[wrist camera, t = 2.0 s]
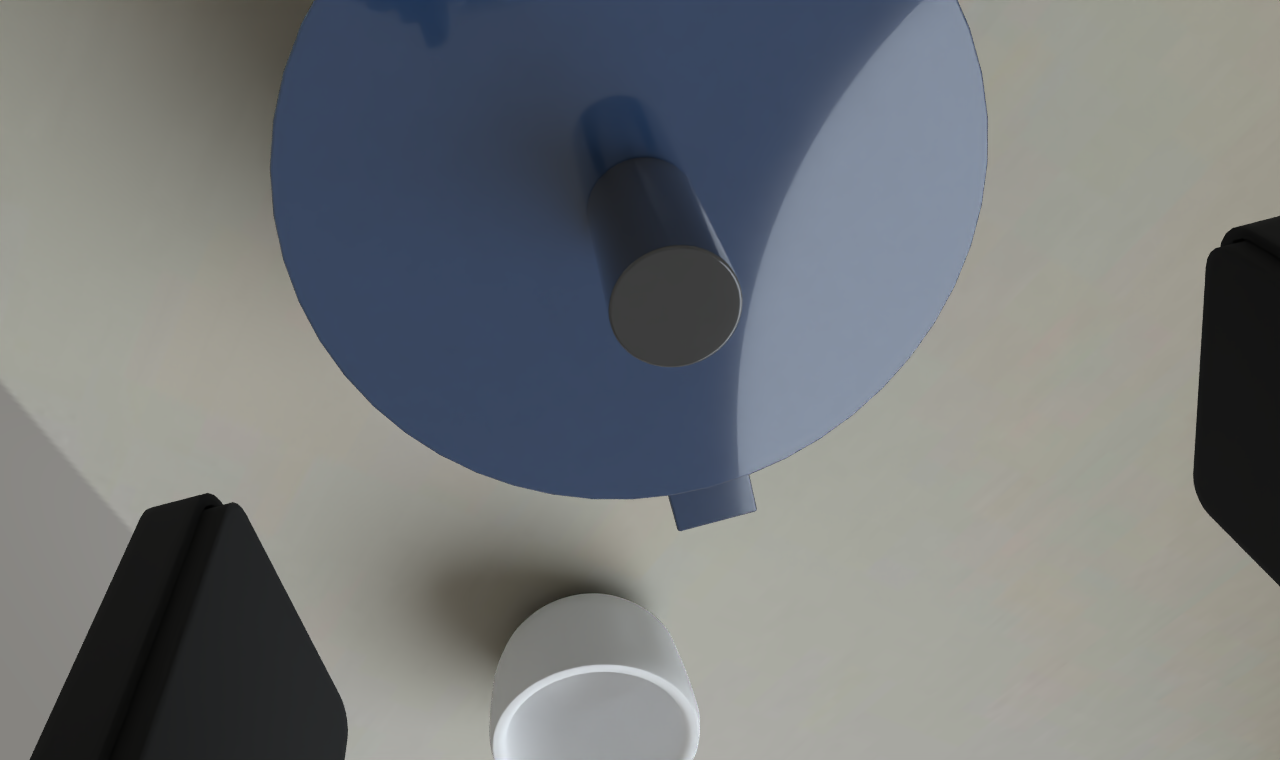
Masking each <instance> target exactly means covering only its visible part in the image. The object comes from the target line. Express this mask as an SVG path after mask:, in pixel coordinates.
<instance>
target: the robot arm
mask: <svg viewBox="0 0 1280 760" xmlns="http://www.w3.org/2000/svg"><path fill="white" fill-rule="evenodd" d="M1193 478H1194V486H1195V490H1196V493H1197V496H1198V498H1199V501H1200V502H1201V504H1202V506H1203V508H1204V509H1205V510H1206V512H1207V513H1208V514H1209V515H1210V516H1211V517H1212V518H1213V519H1214V520H1215V521H1216V522H1217V523H1218V524H1219V525H1220V526H1221V527H1222V528H1223V529H1224V530H1225V531H1226V532H1227V533H1228V534H1229V535H1230V536H1231V537H1232V538H1233V539H1234V540H1235V541H1236V542H1237V543H1238V545H1239V546H1240V547H1241V548H1242V549H1243V550H1244V551H1245V552H1246V553H1247V554H1248V555H1249V556H1250V557H1251V558H1252V559H1253V560H1254V561H1255V562H1256V563H1257V564H1258V565H1259V566H1260V567H1261V568H1262V569H1263V570H1264V571H1265V572H1266V573H1267V574H1268V575H1269V576H1270V577H1271V578H1272V579H1273V580H1274V581H1275V582H1276V583H1277V584H1278V585H1279V586H1280V216H1278V217H1274V218H1270V219H1266V220H1262V221H1258V222H1254V223H1251V224H1247V225H1243V226H1239V227H1235V228H1232V229H1231V230H1230V231H1228V232H1227V233H1226V234H1225V236H1224V238H1223V240H1222V242H1221V247H1219V248H1215V249H1214V250H1213V251H1212V252H1211V253H1210V255H1209V257H1208V259H1207V264H1206V273H1205V290H1204V306H1203V323H1202V339H1201V356H1200V372H1199V389H1198V405H1197V422H1196V438H1195V455H1194V471H1193ZM347 736H348V726H347V717H346V712H345V708H344V705H343V702H342V699H341V697H340V695H339V693H338V691H337V689H336V687H335V685H334V683H333V681H332V679H331V677H330V676H329V674H328V672H327V670H326V668H325V666H324V664H323V662H322V660H321V658H320V656H319V654H318V652H317V650H316V648H315V647H314V645H313V643H312V641H311V639H310V637H309V635H308V633H307V631H306V629H305V627H304V625H303V623H302V621H301V619H300V618H299V616H298V614H297V612H296V610H295V608H294V606H293V604H292V602H291V600H290V598H289V596H288V594H287V592H286V590H285V589H284V587H283V585H282V583H281V581H280V579H279V577H278V575H277V573H276V571H275V569H274V567H273V565H272V563H271V562H270V560H269V558H268V556H267V554H266V552H265V550H264V548H263V546H262V544H261V542H260V540H259V538H258V536H257V534H256V533H255V531H254V529H253V527H252V525H251V523H250V521H249V519H248V517H247V515H246V514H245V512H244V510H243V509H242V508H241V507H240V506H239V505H238V504H236V503H233V502H232V503H229V504H225V505H223V504H222V503H221V501H220V500H219V499H218V498H217V497H216V496H214V495H212V494H209V493H206V494H202V495H198V496H194V497H191V498H187V499H183V500H179V501H175V502H171V503H167V504H163V505H160V506H156V507H152V508H149V509H147V510H145V512H144V513H143V515H142V516H141V518H140V520H139V522H138V524H137V526H136V529H135V531H134V533H133V535H132V537H131V540H130V542H129V544H128V546H127V548H126V551H125V553H124V555H123V557H122V559H121V561H120V564H119V566H118V568H117V570H116V572H115V575H114V577H113V579H112V581H111V583H110V585H109V588H108V590H107V592H106V594H105V597H104V599H103V601H102V603H101V605H100V607H99V610H98V612H97V614H96V616H95V618H94V621H93V623H92V625H91V627H90V629H89V631H88V634H87V636H86V638H85V640H84V642H83V644H82V647H81V649H80V651H79V653H78V655H77V658H76V660H75V662H74V664H73V666H72V669H71V671H70V673H69V675H68V677H67V679H66V682H65V684H64V686H63V688H62V690H61V692H60V695H59V697H58V699H57V701H56V703H55V706H54V708H53V710H52V712H51V714H50V716H49V719H48V721H47V723H46V725H45V727H44V730H43V732H42V734H41V736H40V738H39V740H38V743H37V745H36V747H35V750H34V751H33V754H32V756H31V758H30V760H344V759H345V752H346V745H347Z"/></svg>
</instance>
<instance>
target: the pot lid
mask: <svg viewBox="0 0 1280 760" xmlns="http://www.w3.org/2000/svg"><path fill="white" fill-rule="evenodd" d="M987 150H988V116H987V108H986V101H985V93H984V85H983V78H982V71H981V67H980V64H979V60H978V57H977V53H976V49H975V46H974V42H973V38H972V35H971V31H970V28H969V25H968V23H967V21H966V18H965V16H964V14H963V12H962V9H961V7H960V5H959V2H958V0H314V1H313V3H312V5H311V6H310V8H309V10H308V12H307V14H306V16H305V17H304V19H303V21H302V23H301V25H300V28H299V31H298V33H297V36H296V39H295V42H294V44H293V47H292V50H291V52H290V55H289V58H288V60H287V63H286V66H285V68H284V71H283V76H282V80H281V85H280V90H279V94H278V99H277V104H276V109H275V113H274V118H273V128H272V143H271V158H270V177H271V190H272V203H273V216H274V220H275V225H276V229H277V234H278V238H279V243H280V247H281V252H282V256H283V261H284V263H285V266H286V269H287V271H288V274H289V277H290V279H291V282H292V285H293V288H294V290H295V293H296V296H297V298H298V301H299V303H300V305H301V307H302V309H303V311H304V312H305V314H306V316H307V318H308V320H309V322H310V324H311V326H312V327H313V329H314V331H315V333H316V335H317V337H318V339H319V340H320V342H321V343H322V345H323V346H324V347H325V349H326V350H327V352H328V353H329V354H330V356H331V357H332V359H333V360H334V361H335V363H336V364H337V365H338V367H339V368H340V370H341V371H342V372H343V374H344V375H345V376H346V377H347V378H348V380H349V381H350V382H351V383H352V384H353V385H354V386H355V387H356V388H357V389H358V390H359V391H360V392H361V393H362V394H363V396H364V397H365V398H366V399H367V400H368V401H369V402H370V403H371V404H372V405H373V406H374V407H375V408H376V409H377V410H379V411H380V412H381V413H382V414H383V415H385V416H386V417H387V418H388V419H389V420H391V421H392V422H393V423H394V424H396V425H397V426H398V427H399V428H400V429H402V430H403V431H404V432H405V433H407V434H408V435H410V436H411V437H413V438H414V439H416V440H418V441H419V442H421V443H422V444H424V445H425V446H427V447H428V448H430V449H432V450H433V451H435V452H436V453H438V454H439V455H441V456H443V457H445V458H448V459H450V460H452V461H454V462H456V463H458V464H460V465H462V466H464V467H466V468H468V469H470V470H472V471H474V472H476V473H479V474H482V475H485V476H488V477H491V478H494V479H496V480H499V481H502V482H505V483H508V484H511V485H514V486H518V487H522V488H527V489H531V490H535V491H540V492H544V493H549V494H553V495H562V496H571V497H579V498H588V499H639V498H649V497H659V496H669V495H675V494H680V493H685V492H689V491H694V490H699V489H704V488H708V487H712V486H715V485H719V484H722V483H725V482H728V481H731V480H734V479H737V478H740V477H743V476H746V475H749V474H752V473H754V472H756V471H758V470H761V469H763V468H765V467H767V466H770V465H772V464H774V463H776V462H779V461H781V460H783V459H785V458H787V457H789V456H791V455H792V454H794V453H796V452H798V451H799V450H801V449H803V448H805V447H806V446H808V445H810V444H812V443H813V442H815V441H817V440H819V439H820V438H822V437H823V436H824V435H826V434H827V433H829V432H830V431H831V430H833V429H834V428H835V427H837V426H838V425H840V424H841V423H842V422H844V421H845V420H847V419H848V418H849V417H851V416H852V415H853V414H854V413H856V412H857V411H858V410H859V409H860V408H861V407H862V406H863V405H864V404H866V403H867V402H868V401H869V400H870V399H871V398H872V397H873V396H874V395H875V394H877V393H878V392H879V391H880V390H881V389H882V388H883V387H884V386H885V385H886V384H887V383H888V382H889V380H890V379H891V378H892V377H893V376H894V375H895V374H896V373H897V371H898V370H899V369H900V368H901V367H902V366H903V365H904V364H905V362H906V361H907V360H908V359H909V358H910V357H911V355H912V354H913V353H914V351H915V350H916V348H917V347H918V346H919V344H920V343H921V341H922V340H923V338H924V337H925V336H926V334H927V333H928V331H929V330H930V329H931V327H932V326H933V324H934V323H935V321H936V319H937V317H938V316H939V314H940V312H941V310H942V308H943V306H944V305H945V303H946V301H947V299H948V297H949V296H950V294H951V292H952V290H953V288H954V286H955V284H956V281H957V279H958V277H959V274H960V272H961V269H962V267H963V264H964V262H965V259H966V257H967V254H968V252H969V249H970V247H971V243H972V239H973V235H974V232H975V228H976V224H977V221H978V217H979V213H980V209H981V206H982V198H983V191H984V184H985V176H986V169H987Z"/></svg>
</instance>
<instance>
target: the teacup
mask: <svg viewBox="0 0 1280 760" xmlns="http://www.w3.org/2000/svg"><path fill="white" fill-rule="evenodd" d="M699 734H700V715H699V709H698V705H697V702H696V699H695V695H694V692H693V689H692V686H691V683H690V680H689V677H688V675H687V672H686V669H685V666H684V664H683V662H682V659H681V657H680V655H679V653H678V650H677V648H676V646H675V643H674V641H673V639H672V637H671V635H670V633H669V631H668V630H667V628H666V627H665V626H664V625H663V623H662V622H661V621H660V620H659V619H658V618H656V617H655V616H654V615H653V614H652V613H650V612H649V611H648V610H646V609H645V608H643V607H641V606H640V605H638V604H636V603H634V602H632V601H629V600H627V599H624V598H621V597H617V596H613V595H608V594H598V593H589V594H578V595H573V596H568V597H565V598H562V599H559V600H556V601H554V602H551V603H549V604H547V605H545V606H544V607H542V608H540V609H539V610H537V611H536V612H534V613H533V614H532V615H531V616H529V617H528V618H527V619H526V620H525V621H524V622H523V623H522V624H521V625H520V626H519V627H518V628H517V629H516V631H515V632H514V633H513V635H512V636H511V638H510V639H509V641H508V643H507V645H506V647H505V649H504V651H503V653H502V655H501V658H500V660H499V663H498V666H497V669H496V673H495V677H494V683H493V691H492V700H491V710H490V726H489V736H490V746H491V751H492V755H493V758H494V760H693V758H694V756H695V753H696V750H697V747H698V743H699Z"/></svg>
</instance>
